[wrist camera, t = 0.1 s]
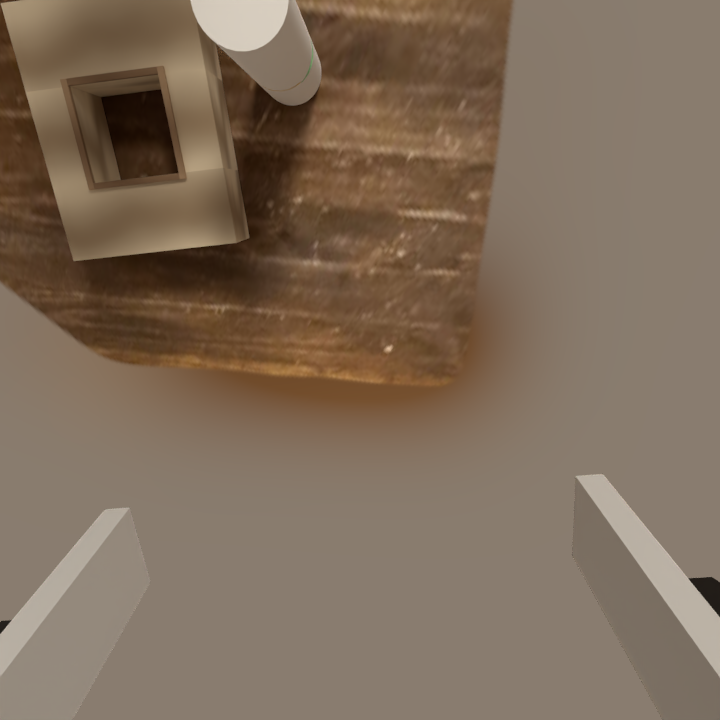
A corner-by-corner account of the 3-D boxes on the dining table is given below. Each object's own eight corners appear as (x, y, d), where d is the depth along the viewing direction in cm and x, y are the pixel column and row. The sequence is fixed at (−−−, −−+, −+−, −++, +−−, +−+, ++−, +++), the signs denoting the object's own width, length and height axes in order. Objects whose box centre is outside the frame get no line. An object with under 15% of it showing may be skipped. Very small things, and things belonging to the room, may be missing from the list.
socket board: (40, 23, 35) (-3, 2, 31) (208, -1, 35) (186, -26, 31) (101, 254, 40) (71, 261, 36) (249, 237, 40) (235, 243, 36)
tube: (287, 118, 37) (235, 73, 23) (248, 66, 36) (168, -16, 22) (333, 78, 36) (309, 5, 22) (295, 23, 35) (243, -92, 21)
